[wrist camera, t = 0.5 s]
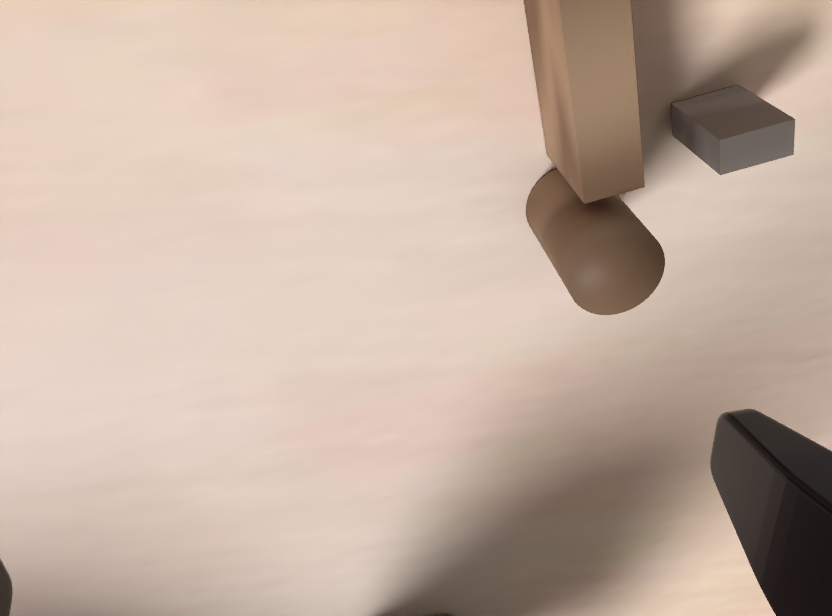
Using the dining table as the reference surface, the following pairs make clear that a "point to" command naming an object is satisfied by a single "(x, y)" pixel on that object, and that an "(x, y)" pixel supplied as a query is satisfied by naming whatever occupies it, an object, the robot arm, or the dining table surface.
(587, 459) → the dining table surface
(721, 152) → the fence
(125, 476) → the dining table surface
